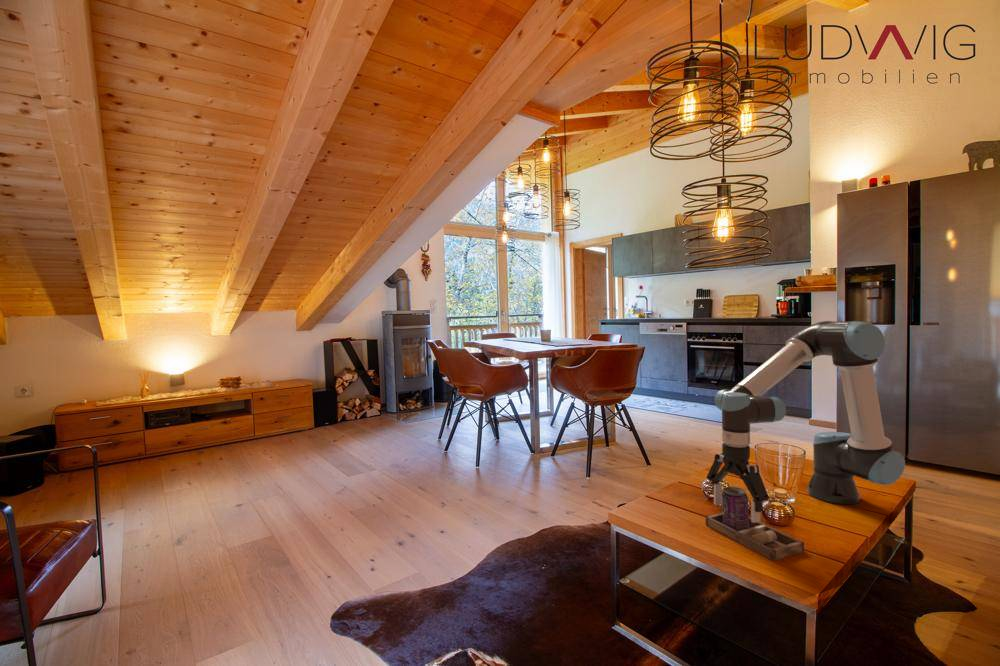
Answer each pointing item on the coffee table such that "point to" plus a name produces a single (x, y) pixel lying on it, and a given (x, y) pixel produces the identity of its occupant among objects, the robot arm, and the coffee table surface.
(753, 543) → the tray
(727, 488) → the beverage can
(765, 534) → the grey oblong lump
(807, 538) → the coffee table surface
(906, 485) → the coffee table surface
